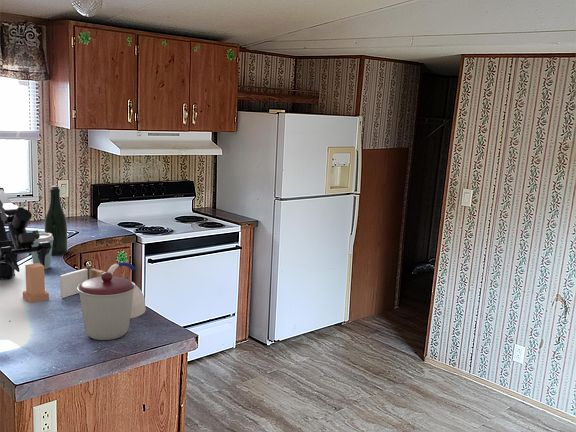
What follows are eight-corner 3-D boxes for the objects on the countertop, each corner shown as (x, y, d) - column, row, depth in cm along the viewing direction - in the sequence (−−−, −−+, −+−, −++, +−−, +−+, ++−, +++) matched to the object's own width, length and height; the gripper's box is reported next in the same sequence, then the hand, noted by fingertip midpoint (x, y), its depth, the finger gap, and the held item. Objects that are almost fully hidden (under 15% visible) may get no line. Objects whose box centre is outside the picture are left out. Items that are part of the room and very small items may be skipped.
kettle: (74, 315, 204) (74, 266, 201) (111, 298, 223) (111, 253, 220) (123, 325, 198) (123, 274, 194) (156, 307, 217) (157, 260, 213)
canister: (114, 320, 202) (114, 261, 198) (147, 334, 190) (147, 273, 186) (66, 333, 188) (65, 271, 184) (98, 350, 177) (97, 284, 173)
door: (82, 288, 231) (82, 267, 229) (87, 290, 230) (87, 269, 228) (58, 296, 221) (57, 274, 219) (63, 297, 220) (62, 276, 218)
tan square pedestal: (22, 297, 218) (21, 264, 216) (41, 294, 223) (40, 261, 221) (29, 303, 213) (28, 269, 211) (48, 299, 218) (47, 266, 216)
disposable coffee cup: (42, 272, 251) (41, 238, 248) (22, 268, 254) (21, 235, 251) (59, 266, 260) (58, 233, 258) (40, 263, 264) (39, 231, 261)
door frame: (104, 292, 229) (104, 268, 227) (99, 294, 227) (99, 269, 225) (67, 282, 239) (66, 259, 237) (62, 283, 237) (62, 260, 235)
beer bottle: (40, 254, 278) (38, 186, 272) (51, 249, 288) (50, 183, 282) (61, 256, 277) (59, 188, 271) (71, 251, 287) (70, 185, 281)
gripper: (-2, 226, 213) (10, 261, 207) (49, 221, 226) (61, 254, 220) (-8, 243, 220) (3, 277, 214) (41, 237, 233) (53, 269, 227)
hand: (31, 269), depth 219 cm, fingers open, 9 cm apart
